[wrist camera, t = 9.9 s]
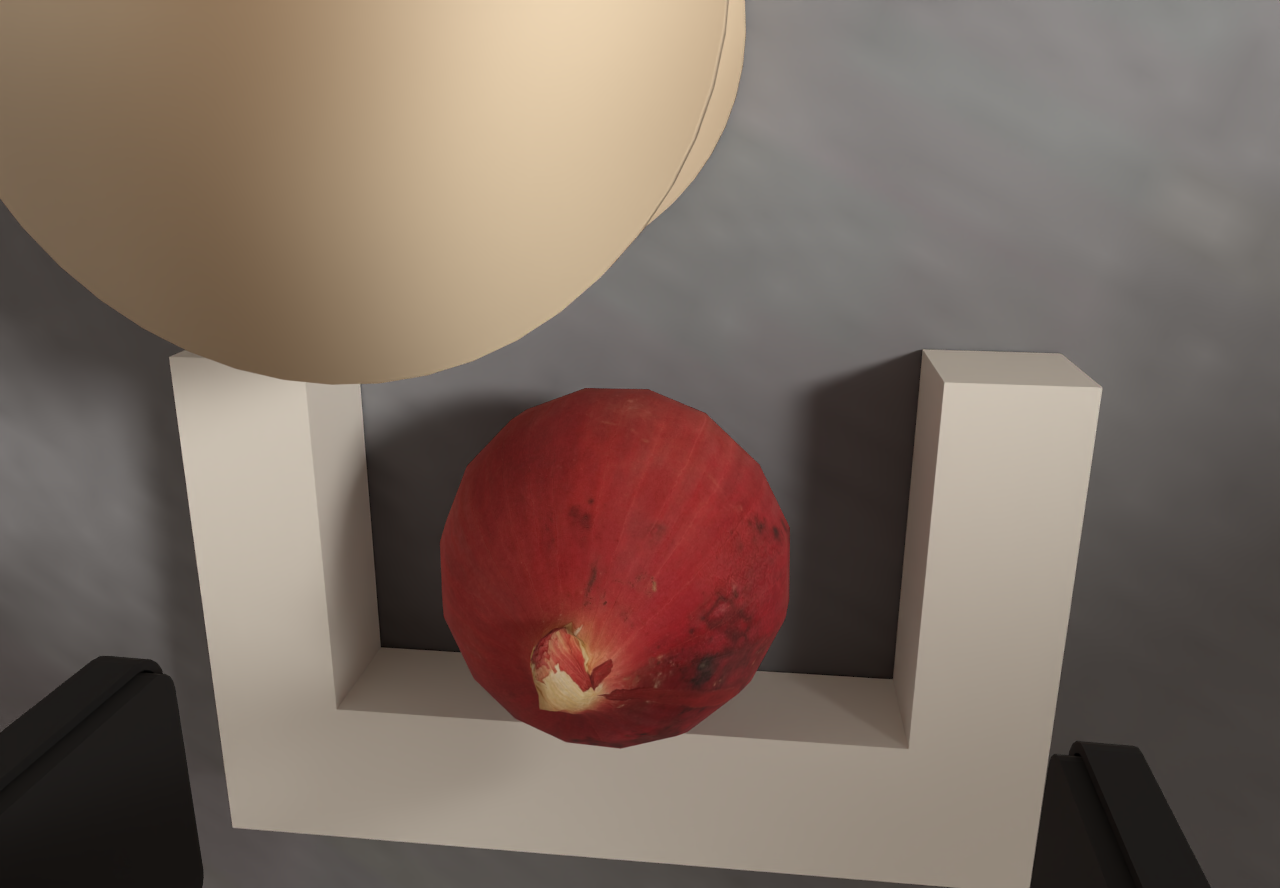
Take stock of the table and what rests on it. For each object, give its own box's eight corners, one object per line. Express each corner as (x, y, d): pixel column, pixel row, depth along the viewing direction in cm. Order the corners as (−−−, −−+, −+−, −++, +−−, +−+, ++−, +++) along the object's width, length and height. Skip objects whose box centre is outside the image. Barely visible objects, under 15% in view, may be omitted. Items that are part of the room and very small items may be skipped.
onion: (835, 419, 20) (878, 606, 13) (715, 657, 22) (689, 944, 14) (558, 299, 20) (434, 414, 12) (461, 549, 22) (302, 781, 14)
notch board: (1061, 353, 19) (1102, 387, 17) (1000, 810, 22) (1028, 893, 20) (236, 329, 21) (169, 357, 19) (285, 757, 24) (232, 827, 22)
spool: (754, -229, 17) (744, -608, 8) (738, 264, 19) (714, 399, 10) (284, -216, 18) (-202, -545, 9) (324, 255, 20) (-23, 372, 11)
